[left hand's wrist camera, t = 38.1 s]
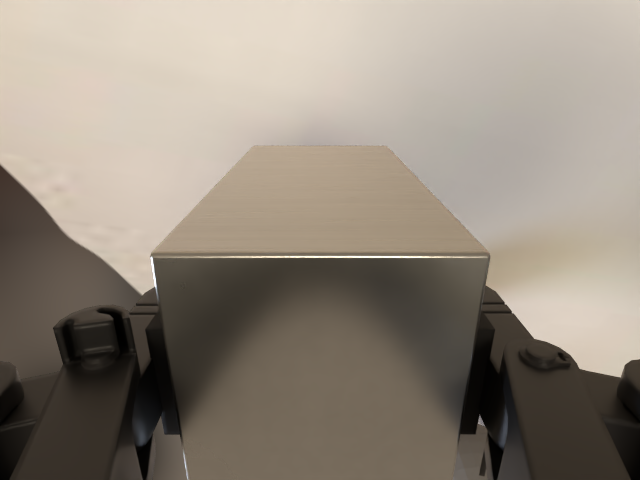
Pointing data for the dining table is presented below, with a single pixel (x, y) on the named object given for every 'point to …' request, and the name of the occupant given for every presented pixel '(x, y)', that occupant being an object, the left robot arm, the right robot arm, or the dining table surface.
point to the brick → (320, 320)
